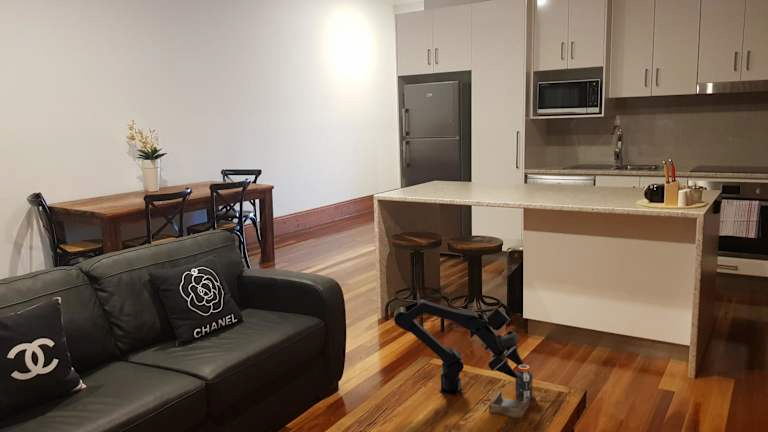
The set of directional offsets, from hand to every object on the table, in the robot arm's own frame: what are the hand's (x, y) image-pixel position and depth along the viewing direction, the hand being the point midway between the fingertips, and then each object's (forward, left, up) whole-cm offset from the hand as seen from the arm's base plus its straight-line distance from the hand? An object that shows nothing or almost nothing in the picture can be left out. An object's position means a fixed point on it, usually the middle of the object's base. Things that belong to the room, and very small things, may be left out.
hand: (520, 372), depth 213 cm
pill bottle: (+1, 0, -9) cm, 9 cm away
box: (-1, -11, -9) cm, 14 cm away
